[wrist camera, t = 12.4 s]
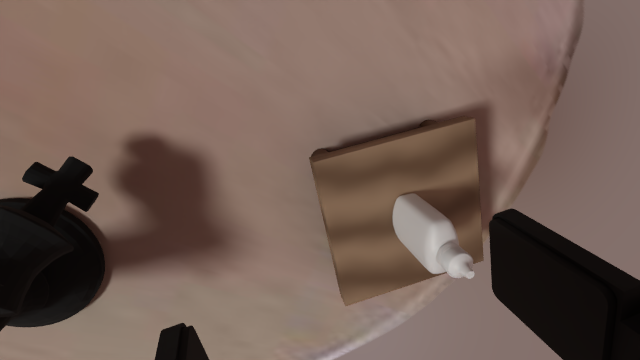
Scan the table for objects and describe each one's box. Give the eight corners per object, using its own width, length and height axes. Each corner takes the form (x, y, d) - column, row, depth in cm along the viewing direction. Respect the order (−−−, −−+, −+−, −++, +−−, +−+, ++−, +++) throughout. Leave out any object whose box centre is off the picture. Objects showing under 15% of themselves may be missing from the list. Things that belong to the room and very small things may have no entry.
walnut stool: (301, 146, 43) (313, 162, 37) (440, 109, 46) (475, 118, 39) (330, 273, 49) (345, 306, 43) (452, 235, 52) (483, 260, 45)
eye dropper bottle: (432, 198, 41) (507, 251, 30) (411, 242, 42) (475, 308, 31) (400, 187, 40) (465, 238, 29) (379, 233, 41) (433, 298, 30)
